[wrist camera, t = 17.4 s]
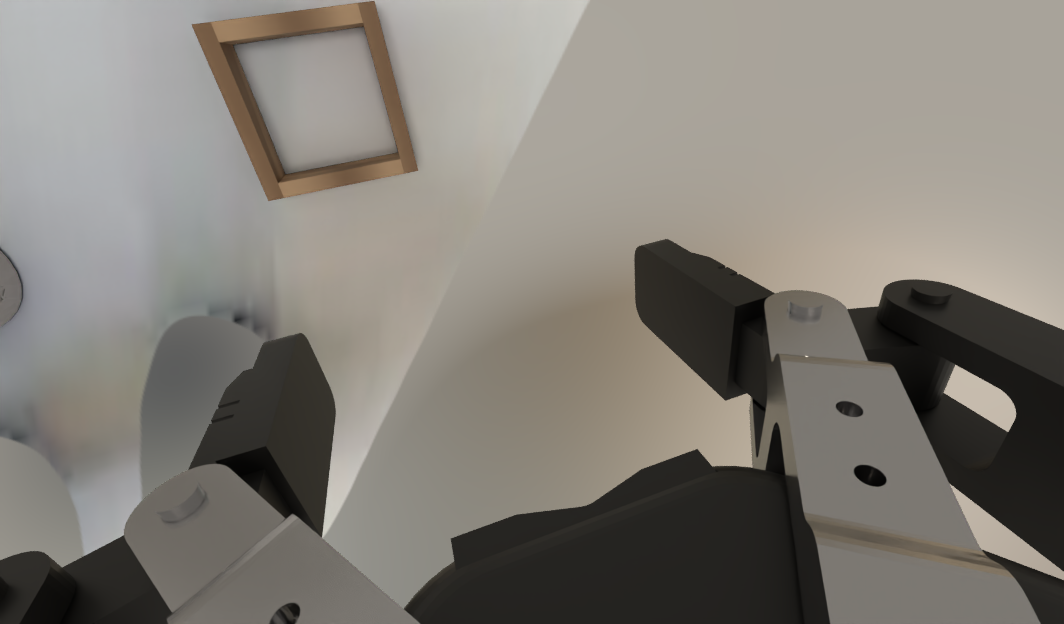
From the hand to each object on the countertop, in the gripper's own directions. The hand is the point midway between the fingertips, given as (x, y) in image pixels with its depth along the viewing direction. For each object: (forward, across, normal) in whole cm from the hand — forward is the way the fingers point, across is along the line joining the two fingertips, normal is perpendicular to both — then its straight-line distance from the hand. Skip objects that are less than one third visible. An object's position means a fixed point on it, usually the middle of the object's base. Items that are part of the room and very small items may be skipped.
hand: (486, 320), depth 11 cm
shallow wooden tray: (+28, +5, -4) cm, 29 cm away
